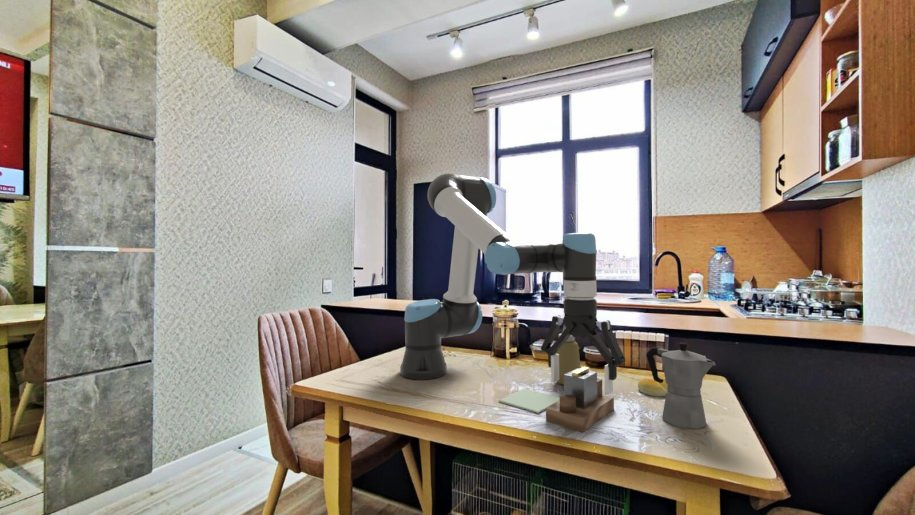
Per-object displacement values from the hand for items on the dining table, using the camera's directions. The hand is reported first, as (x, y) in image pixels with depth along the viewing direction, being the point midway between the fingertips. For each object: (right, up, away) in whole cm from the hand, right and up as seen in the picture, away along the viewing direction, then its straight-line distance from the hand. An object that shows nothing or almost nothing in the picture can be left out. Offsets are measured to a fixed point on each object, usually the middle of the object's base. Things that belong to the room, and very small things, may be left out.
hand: (580, 386), depth 97 cm
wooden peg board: (0, -7, 0) cm, 7 cm away
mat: (-10, -7, +10) cm, 16 cm away
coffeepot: (+22, -7, -3) cm, 23 cm away
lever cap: (0, -4, 0) cm, 4 cm away
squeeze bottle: (+3, -7, +24) cm, 25 cm away
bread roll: (+26, -7, +16) cm, 31 cm away
